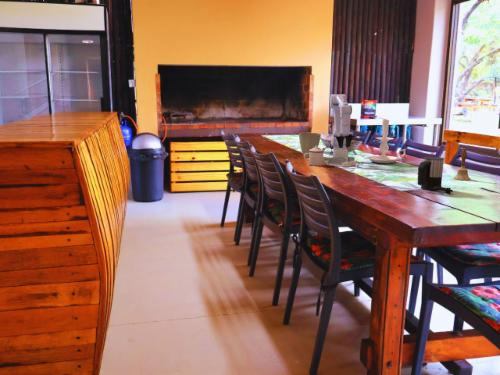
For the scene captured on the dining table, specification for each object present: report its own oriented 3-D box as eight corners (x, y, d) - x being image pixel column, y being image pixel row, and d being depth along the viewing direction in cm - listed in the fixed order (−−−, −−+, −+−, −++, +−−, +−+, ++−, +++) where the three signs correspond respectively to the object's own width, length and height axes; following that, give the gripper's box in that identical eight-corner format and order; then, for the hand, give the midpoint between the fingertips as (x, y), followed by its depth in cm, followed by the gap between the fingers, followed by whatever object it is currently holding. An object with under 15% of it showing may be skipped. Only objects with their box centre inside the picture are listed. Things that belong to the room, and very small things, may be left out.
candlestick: (411, 165, 282) (415, 119, 276) (372, 165, 281) (375, 119, 275) (399, 160, 302) (402, 117, 296) (362, 160, 301) (364, 117, 295)
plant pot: (296, 158, 310) (296, 134, 307) (300, 155, 324) (301, 132, 321) (318, 159, 306) (319, 135, 302) (321, 156, 320) (322, 133, 316)
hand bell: (460, 181, 233) (464, 150, 229) (449, 178, 240) (452, 148, 237) (474, 180, 235) (477, 149, 232) (463, 177, 243) (466, 147, 239)
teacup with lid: (322, 163, 286) (323, 145, 284) (323, 166, 277) (324, 146, 275) (303, 163, 287) (304, 144, 285) (303, 165, 278) (304, 146, 276)
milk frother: (424, 186, 221) (427, 155, 218) (459, 190, 211) (462, 158, 208) (413, 190, 210) (416, 158, 207) (449, 196, 200) (452, 162, 197)
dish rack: (339, 162, 292) (340, 155, 291) (356, 164, 283) (356, 157, 282) (326, 164, 282) (326, 157, 282) (342, 167, 274) (343, 159, 273)
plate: (337, 162, 286) (337, 149, 284) (347, 163, 281) (348, 150, 279) (335, 162, 285) (335, 149, 283) (346, 164, 279) (346, 150, 277)
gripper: (343, 126, 272) (342, 148, 275) (357, 125, 282) (356, 147, 285) (334, 125, 277) (333, 147, 280) (348, 124, 287) (347, 146, 290)
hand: (344, 147), depth 283 cm, fingers open, 7 cm apart
